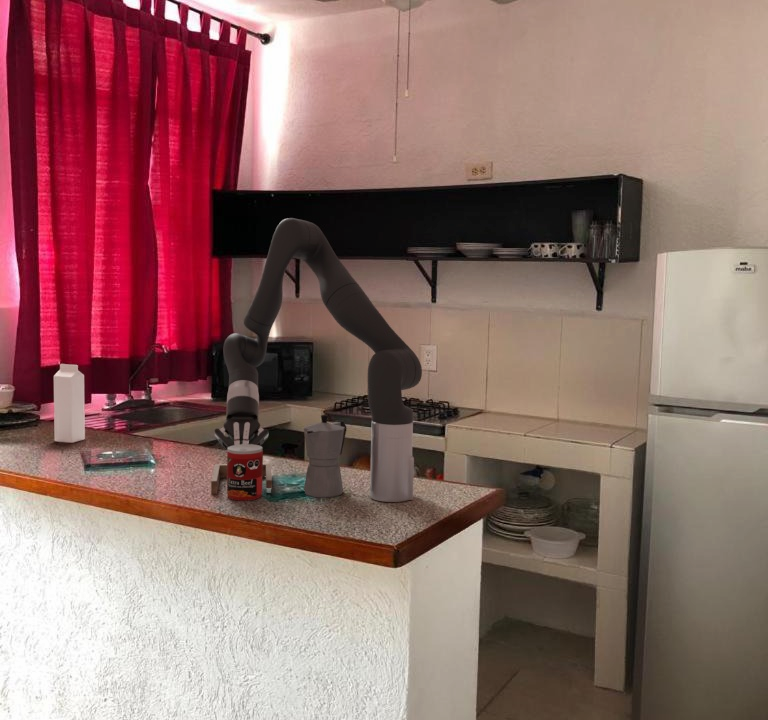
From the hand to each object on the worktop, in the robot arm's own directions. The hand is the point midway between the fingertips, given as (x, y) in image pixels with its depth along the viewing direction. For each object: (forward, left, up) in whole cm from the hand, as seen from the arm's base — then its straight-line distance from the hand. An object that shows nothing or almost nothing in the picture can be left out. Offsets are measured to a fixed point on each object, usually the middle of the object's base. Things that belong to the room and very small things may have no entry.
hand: (240, 466), depth 196 cm
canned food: (-1, +4, -6) cm, 8 cm away
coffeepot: (-19, +1, -6) cm, 20 cm away
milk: (+50, -62, -6) cm, 80 cm away
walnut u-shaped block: (0, -6, -6) cm, 8 cm away
